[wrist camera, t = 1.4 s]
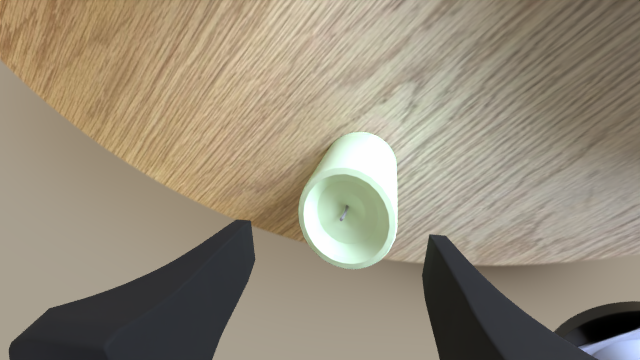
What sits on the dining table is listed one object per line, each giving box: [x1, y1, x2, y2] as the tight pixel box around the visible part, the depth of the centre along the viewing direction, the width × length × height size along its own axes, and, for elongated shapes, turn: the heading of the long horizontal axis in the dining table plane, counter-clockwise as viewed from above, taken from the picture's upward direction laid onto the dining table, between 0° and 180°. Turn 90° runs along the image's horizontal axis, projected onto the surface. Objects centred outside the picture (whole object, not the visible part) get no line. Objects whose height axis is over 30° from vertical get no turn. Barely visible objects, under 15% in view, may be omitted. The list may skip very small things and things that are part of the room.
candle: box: [298, 132, 397, 269], centre depth 19 cm, size 5×5×8 cm
